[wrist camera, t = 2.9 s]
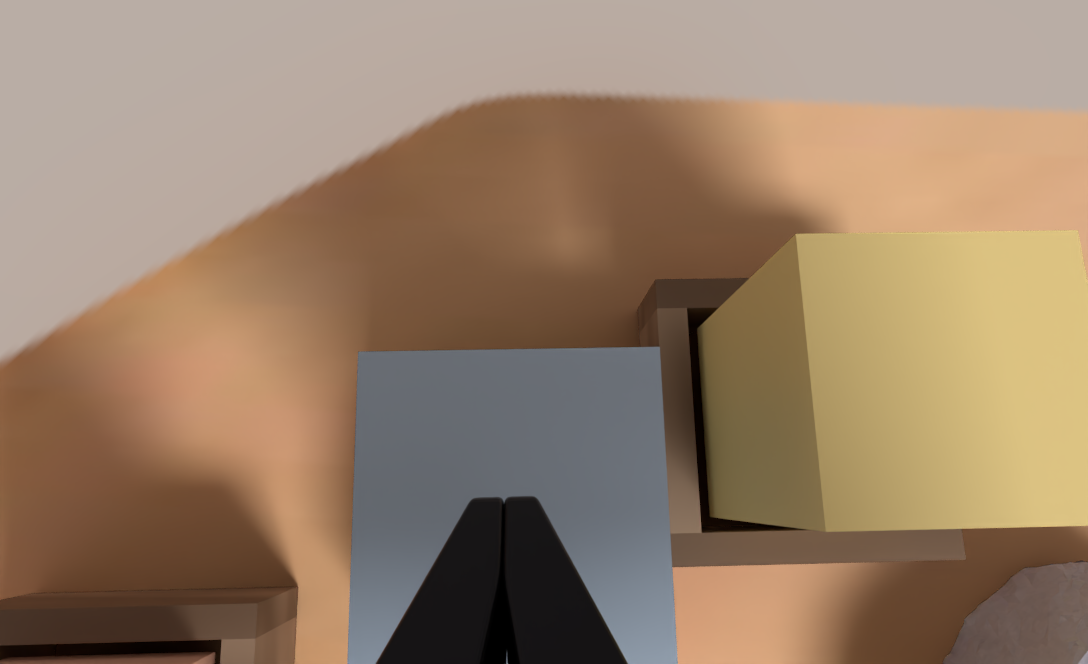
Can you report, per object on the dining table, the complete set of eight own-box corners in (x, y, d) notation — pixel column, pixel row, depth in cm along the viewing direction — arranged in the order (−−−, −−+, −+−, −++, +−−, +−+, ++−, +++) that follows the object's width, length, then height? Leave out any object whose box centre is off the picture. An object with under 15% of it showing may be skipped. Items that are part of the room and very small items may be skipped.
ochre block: (899, 512, 19) (1134, 525, 12) (709, 516, 19) (826, 531, 12) (877, 326, 20) (1077, 230, 13) (697, 328, 20) (795, 234, 13)
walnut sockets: (939, 859, 20) (1017, 928, 17) (-4, 893, 19) (-109, 972, 16) (871, 305, 23) (926, 275, 20) (66, 317, 22) (-9, 288, 19)
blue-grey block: (618, 599, 18) (678, 669, 11) (418, 604, 18) (347, 678, 11) (609, 401, 19) (659, 346, 12) (421, 405, 19) (357, 352, 12)
